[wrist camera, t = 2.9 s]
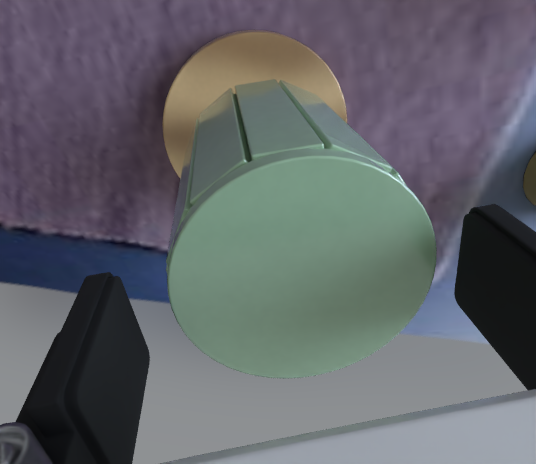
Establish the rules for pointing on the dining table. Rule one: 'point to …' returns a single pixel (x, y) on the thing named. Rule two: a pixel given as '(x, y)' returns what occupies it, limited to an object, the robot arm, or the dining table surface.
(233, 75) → the disc
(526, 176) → the olive pawn figure
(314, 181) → the green grooved cylinder
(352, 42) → the dining table surface
